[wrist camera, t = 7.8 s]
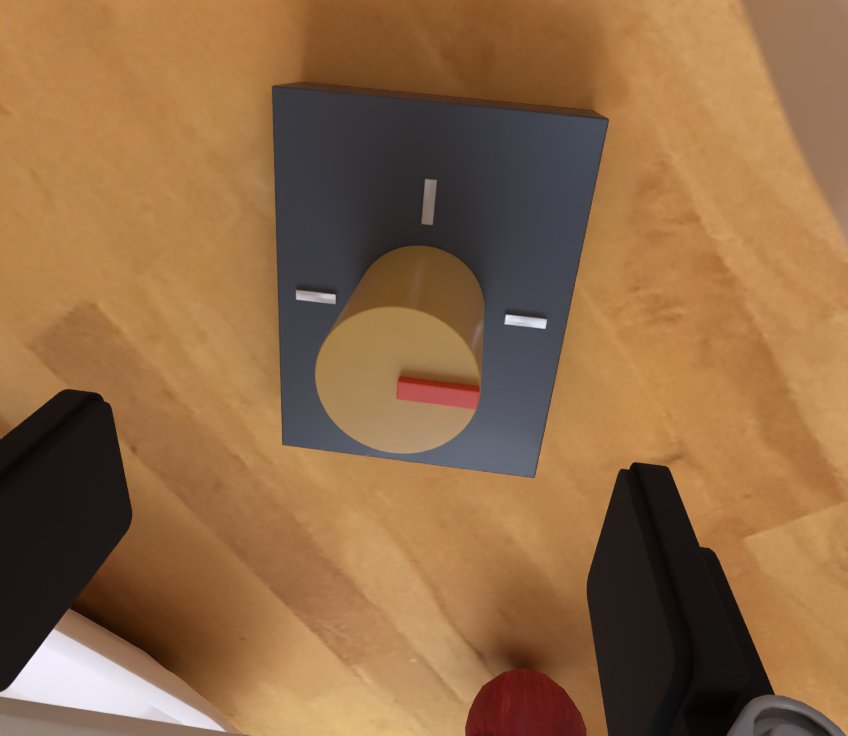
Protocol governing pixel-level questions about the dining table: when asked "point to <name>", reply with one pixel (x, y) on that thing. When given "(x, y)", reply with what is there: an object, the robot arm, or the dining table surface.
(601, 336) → the dining table surface
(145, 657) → the bowl
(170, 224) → the dining table surface
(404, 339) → the yellow dial knob
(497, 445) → the panel
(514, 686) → the onion
